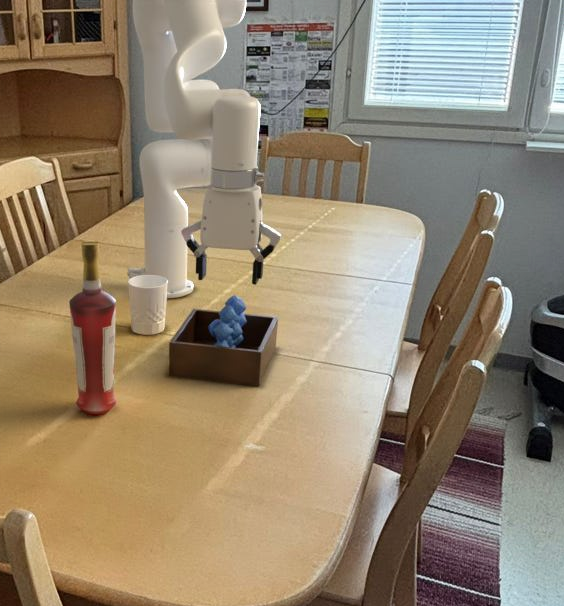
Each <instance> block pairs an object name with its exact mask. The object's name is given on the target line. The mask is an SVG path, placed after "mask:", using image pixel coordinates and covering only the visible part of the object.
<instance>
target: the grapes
mask: <svg viewBox="0 0 564 606" xmlns="http://www.w3.org/2000/svg"><path fill="white" fill-rule="evenodd" d="M246 310H247V306H246V304H245V301H244V299H242V298H240V297H239V296H237V295H234V294H233V295H231V296H230V297H229V298H228V299H227V300H226V301H225V302H224V307H223V308H221V309H220V310H219V311H220V312H219V315H220V318H221V319H220V320H218V319H217V320H214V321H213V322H212V323H211V324H210V325H209V326H208V328H209V331H210V333H211V335H212V336H214V337H216V340H217V343H216V344H215V345H214V346H223V347H232V348H236V347H235V346H237V345H239V344H240V343H241V342H242V341H243V336H242V333H243V332H242V329H241V327H242V326H243V325H245V323H246V322H247V321H246V318H245V316H244V314H245V313H244V312H245V311H246Z"/></svg>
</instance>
